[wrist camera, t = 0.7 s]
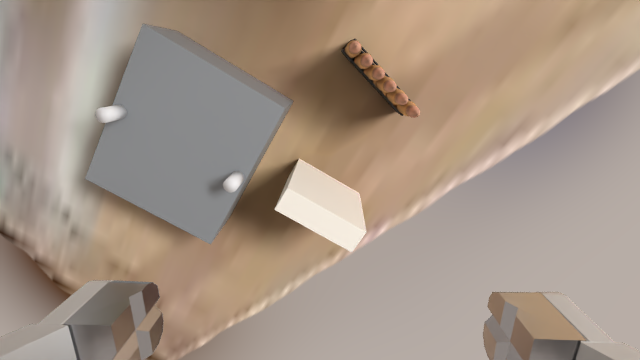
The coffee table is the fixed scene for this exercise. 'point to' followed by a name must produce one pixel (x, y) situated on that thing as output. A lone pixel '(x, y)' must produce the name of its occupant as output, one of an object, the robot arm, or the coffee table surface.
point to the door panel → (323, 205)
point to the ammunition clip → (379, 79)
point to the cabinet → (184, 132)
